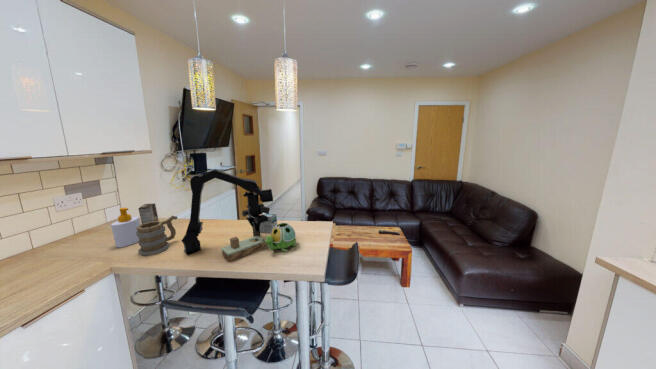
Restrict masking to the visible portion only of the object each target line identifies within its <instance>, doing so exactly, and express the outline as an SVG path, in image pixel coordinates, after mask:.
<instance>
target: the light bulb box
mask: <svg viewBox="0 0 656 369" xmlns="http://www.w3.org/2000/svg"><path fill="white" fill-rule="evenodd" d="M259 215H265V216H267V217H268V221H266V222H263V223H261V224H260V233H261V234H264V233H265V234H271V232H272V230H273V228H274V227H275V226H276V225H278V218H277V217H278V216H277V212H269V214H267V213H263V214H259Z"/></svg>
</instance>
